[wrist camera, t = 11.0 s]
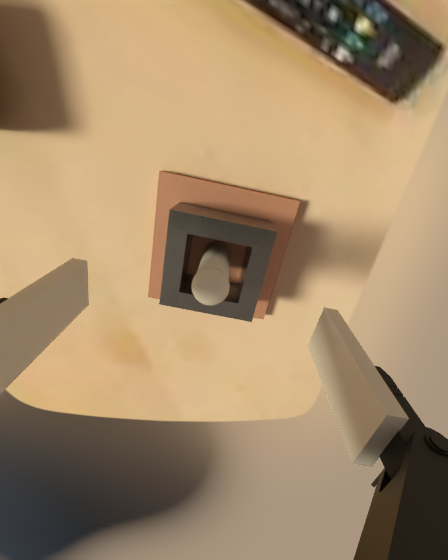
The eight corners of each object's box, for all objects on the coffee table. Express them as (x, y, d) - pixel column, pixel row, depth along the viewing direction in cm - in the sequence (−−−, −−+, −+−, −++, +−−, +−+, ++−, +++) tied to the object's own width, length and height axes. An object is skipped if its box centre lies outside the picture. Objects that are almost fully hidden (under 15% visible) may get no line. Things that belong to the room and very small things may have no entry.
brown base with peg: (162, 170, 22) (117, 175, 14) (297, 199, 23) (334, 222, 14) (151, 292, 27) (113, 350, 19) (262, 314, 28) (274, 380, 19)
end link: (180, 201, 22) (169, 209, 19) (270, 220, 23) (277, 231, 19) (170, 284, 26) (159, 304, 22) (249, 299, 26) (251, 321, 22)
